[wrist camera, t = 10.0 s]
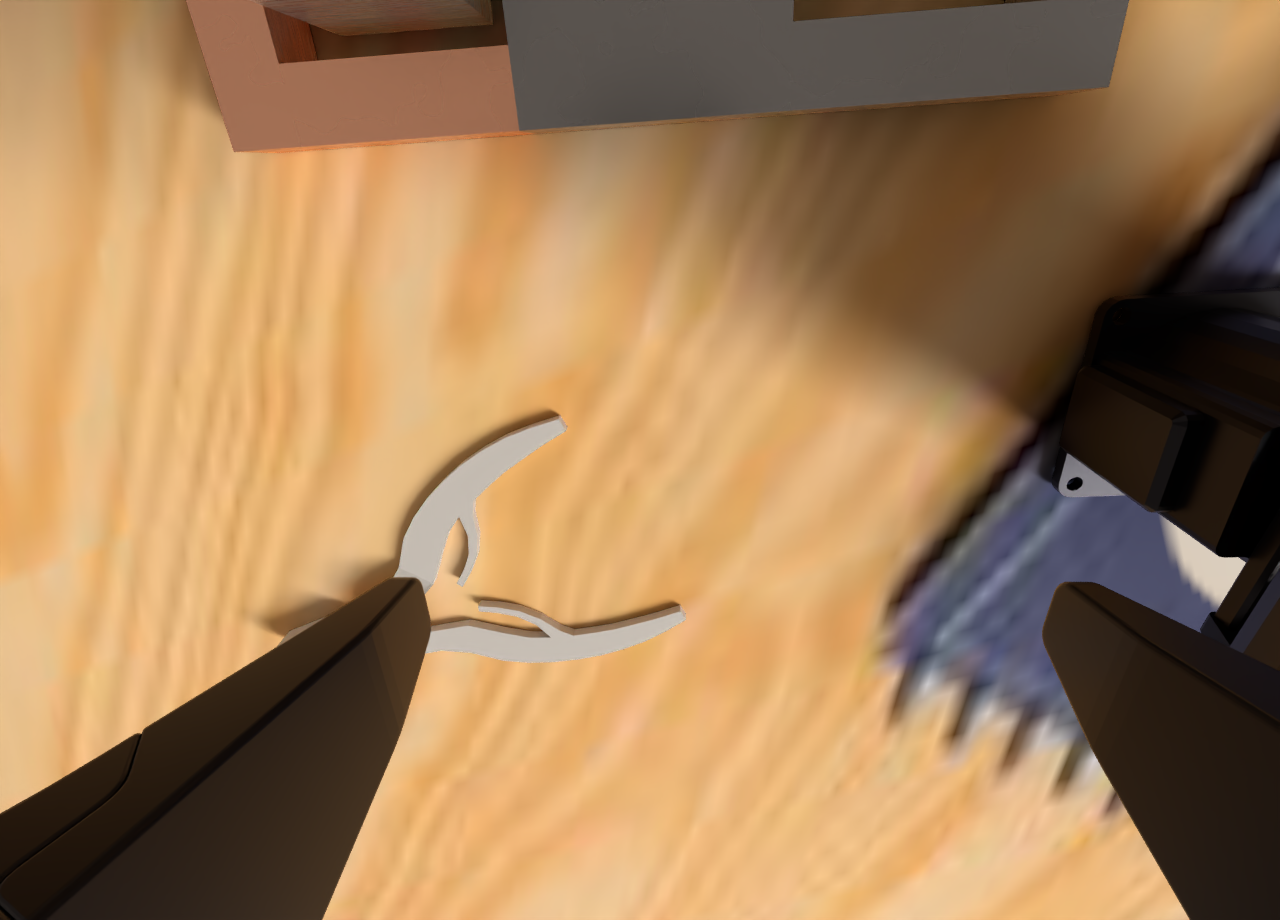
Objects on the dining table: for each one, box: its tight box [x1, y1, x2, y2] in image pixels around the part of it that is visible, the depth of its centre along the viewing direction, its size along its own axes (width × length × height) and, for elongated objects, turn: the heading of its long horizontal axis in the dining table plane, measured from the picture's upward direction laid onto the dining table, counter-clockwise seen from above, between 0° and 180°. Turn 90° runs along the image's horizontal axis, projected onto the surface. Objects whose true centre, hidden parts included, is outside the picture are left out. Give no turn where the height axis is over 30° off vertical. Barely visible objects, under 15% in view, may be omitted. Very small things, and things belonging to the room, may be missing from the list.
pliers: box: [277, 415, 686, 663], centre depth 23 cm, size 10×2×15 cm
